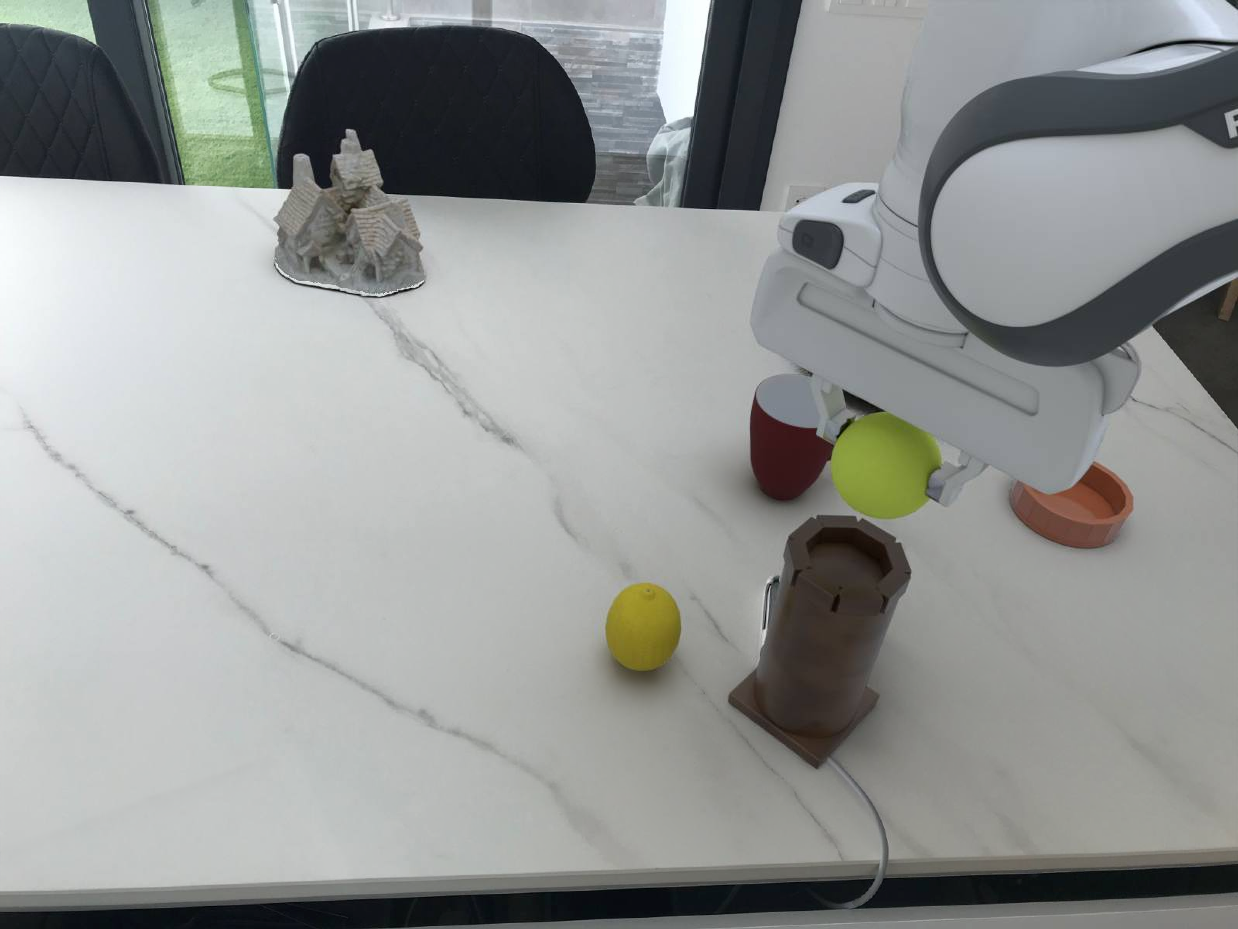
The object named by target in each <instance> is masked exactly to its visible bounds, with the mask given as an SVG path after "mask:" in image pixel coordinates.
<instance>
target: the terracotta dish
mask: <svg viewBox="0 0 1238 929" xmlns="http://www.w3.org/2000/svg"><path fill="white" fill-rule="evenodd" d="M1009 502H1010V505H1011V507H1012V510H1013V511H1014V513H1015V515H1016V516H1017V517H1018V519H1020V521H1021V522H1022V523H1023V524H1024V525H1026V527H1028V528H1029V529H1030V530H1032V531H1034V532H1035V533H1036V534H1038V535H1040V536H1041V537H1043V538H1045V539H1048V540H1050V541H1052V542H1055V543H1058V544H1060V545H1063V546H1068V547H1072V548H1079V549H1081V548H1082V549H1095V548H1101V547H1104V546H1107V545H1110V544H1111V543H1113V542H1114V541H1115V540H1116V539H1117V538H1118V537H1119V535H1120V534H1121V532H1122V530H1123V529H1124V527H1125V526H1126V523H1127V522H1128V521H1129V518H1130V517H1131V515H1132V513H1133V511H1134V496H1133V494H1132V492H1131V490H1130V488H1129V486H1128V485H1127V483H1126V482H1125V481H1124V480H1122V478H1121V477H1119V476H1118V475H1117V473H1115V472H1114V471H1112V470H1111V469H1109V468H1108V467H1106V466H1104V465H1102V464H1101V463H1099V462H1098V461H1095V460H1094V461H1093V463H1092V465H1091V466H1090V467H1089V469H1088V470H1087V471H1086V473H1085V474H1084V475H1083V476H1082V478H1081V479H1080V480H1079V481H1078V482H1077V483H1076V484H1075V485H1074V486H1073V487H1071V488H1070V489H1067V490H1064V491H1061V492H1058V493H1055V494H1044V493H1042V492H1040V491H1038V490H1036V489H1034V488H1032V487H1030V486H1028V485H1026V484H1024V483H1023V482H1021V481H1019V480H1017V479H1015V478H1014V480H1013V483H1012V486H1011V489H1010V492H1009Z"/></svg>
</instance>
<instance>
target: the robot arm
mask: <svg viewBox="0 0 1238 929" xmlns="http://www.w3.org/2000/svg"><path fill="white" fill-rule="evenodd" d="M917 33H918V34H917V35H916V36H917V37H916V39H915V42H914V46H913V50H912V54H911V57H910V62H909V65H908V68H907V72H906V77H905V80H904V84H903V88H902V93H901V96H900V104H899V105H900V130H899V138H898V142H897V145H896V148H895V150H894V153H893V155H892V157H891V158H890V160H889V162H888V163H887V165H886V167H885V169H884V170H883V172H882V174H881V177H880V180H879V182H857V181H856V182H854V181H853V182H846V183H842V184H839V185H837V186H834V187H831V188H829V189H826V190H824V191H821V192H819V193H817V194H815V195H813V196H811V197H809V198H807V199H805V200H803V201H801V202H800V203H798V204H796V205H795V206H793V207H791V208H790V209H788V210H787V211H785V212H784V213H783V214H782V215H781V217H780V219H779V222H778V226H777V234H776V235H777V242H778V244H779V246H780V247H778V248H776V249H774V250H773V251H772V252H771V253H770V254H769V255H768V257H767V259H766V261H765V263H764V264H763V267H762V270H761V273H760V276H759V279H758V283H757V285H756V290H755V294H754V298H753V302H752V307H751V312H750V319H749V325H750V328H751V331H752V333H753V336H754V338H755V341H756V343H757V344H758V345H759V347H762V348H764V349H766V350H768V351H769V352H772V354H773V353H774V354H775V355H777V356H779V357H781V358H783V359H785V360H786V361H789V362H791V363H793V364H795V365H797V366H798V367H800V368H802V369H804V370H806V371H808V372H810V373H812V375H811V377H812V379H811V383H810V386H811V389H812V393H813V396H814V399H815V402H816V405H817V408H818V411H819V414H821V416H820V420H819V424H818V428H817V433H816V435H817V436H819V437H821V438H823V439H824V440H826V441H828V442H830V443H832V444H833V445H835V444H836V442H837V440H838V438H839V437H840V435H841V434H842V433H843V431H844V430H845V429H846V428H847V427H848V426H850V425H851V424H852V423H853V422H855V421H856V418H857V413H856V412H854V411H852V410H851V409H849V408H848V407H847V408H845V407H846V405H845V401H846V399H845V396H844V391H845V390H846V391H845V392H847V391H848V392H847V393H849V392H850V393H849V394H851V393H852V394H851V395H853V394H854V395H853V396H855V395H856V396H855V397H857V396H858V397H857V398H859V397H860V399H861V400H863V401H866V402H868V403H869V404H871V405H873V406H875V407H877V408H879V409H881V410H883V411H884V412H888V413H890V414H892V415H894V416H896V417H898V418H900V419H902V420H904V421H906V422H908V423H910V424H911V425H913V426H915V427H917V428H919V429H921V430H923V431H925V432H927V433H929V434H931V435H932V436H933V437H934V438H936V439H939V440H941V441H942V442H944V443H945V444H948V445H949V446H952V447H953V448H955V449H957V450H959V451H960V452H959V455H958V458H957V462H958V464H959V465H960V466H956V465H954V464H952V463H950V462H948V461H944V462H942V465H941V466H940V468H939V469H938V470H935V471H934V472H933V473H932V474H931V476H930V478H929V481H928V486H929V487H928V488H926V489H925V495H926V496H927V497H929V498H930V500H932V501H934V502H936V503H937V504H939V505H940V506H943V507H945V508H949V507H950V506H951V505H952V504H953V503H954V502H955V501H956V500H957V499H958V497H959V496H960V494H961V493H962V490H963V489H964V485H965V484H966V483H967V482H969V481H971V480H973V479H974V478H976V477H978V476H980V475H982V473H983V472H985V470H986V469H988V467H989V466H990V467H992V468H994V469H996V470H998V471H1000V472H1002V473H1004V474H1005V475H1007V476H1009V477H1011V478H1013V479H1014V480H1015V479H1017V480H1019V481H1021V482H1023V483H1024V484H1026V485H1028V486H1030V487H1032V488H1034V489H1036V490H1038V491H1040V492H1042V493H1044V494H1055V493H1058V492H1061V491H1064V490H1067V489H1070V488H1071V487H1073V486H1074V485H1075V484H1076V483H1077V482H1078V481H1079V480H1080V479H1081V478H1082V476H1083V475H1084V474H1085V473H1086V471H1087V470H1088V469H1089V467H1090V466H1091V465H1092V463H1093V461H1095V459H1096V457H1097V455H1098V453H1099V450H1100V449H1101V445H1102V443H1103V441H1104V438H1105V435H1106V433H1107V429H1108V427H1109V423H1110V420H1111V416H1112V414H1113V413H1115V412H1118V411H1119V410H1120V409H1122V408H1123V407H1124V406H1126V404H1128V402H1129V400H1130V398H1131V396H1132V394H1133V392H1134V390H1135V388H1136V386H1137V384H1138V382H1139V380H1140V378H1141V374H1142V367H1143V366H1142V361H1141V357H1140V355H1139V352H1138V351H1137V349H1136V348H1135V347H1134V345H1133V344H1132V343H1131V342H1129V341H1131V340H1132V339H1134V338H1135V337H1137V336H1138V335H1140V334H1142V333H1143V332H1145V331H1147V330H1148V329H1150V327H1152V326H1153V325H1154V324H1155V323H1157V322H1158V321H1159V320H1161V319H1162V318H1164V317H1166V316H1168V315H1170V314H1172V313H1173V312H1176V311H1177V310H1179V309H1181V308H1183V307H1184V306H1186V305H1188V304H1190V303H1192V302H1194V301H1196V300H1197V299H1199V298H1201V297H1204V296H1205V295H1207V294H1209V293H1210V292H1212V291H1214V290H1216V289H1218V288H1220V287H1222V286H1223V285H1225V284H1228V283H1230V282H1233V281H1235V280H1236V279H1238V9H1237V8H1236V7H1235V6H1233V5H1232V4H1231V3H1229V2H1228V0H928V2H927V5H926V7H925V11H924V14H923V17H922V21H921V23H920V26H919V29H918V32H917ZM1120 348H1121V349H1120ZM842 388H843V389H842ZM844 399H845V400H844Z"/></svg>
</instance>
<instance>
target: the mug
mask: <svg viewBox="0 0 1238 929" xmlns="http://www.w3.org/2000/svg"><path fill="white" fill-rule="evenodd" d="M811 379H812V376H810V375H805V374H801V373H799V374H798V373H781V374H776V375H772V376H770V377H767V378H766V379H763V380H762V381H761V382H760V383H759V384H758V385H757V386H756V389H755V392H754V395H753V399H752V404H751V408H750V416H749V448H750V449H749V456H750V459H749V460H750V466H751V469H752V472H753V474H754V477H755V480H756V482H757V483H758V486H759V488H760V489H761V491H762V492H763V493H764V494H765V495H767V496H769V497H771V498H773V499H776V500H779V501H780V500H781V501H788V500H794V499H797V498H798V497H799V496H801V495H802V494H803V493H804V492H806V491H807V490H808V489H810V488H811V486H812V485H814V484H815V483H816V481H817V480H818V479H819V478H820V476H821V474H822V472H823V471H824V469H825V467H826V465H827V463H828V462H831V457H832V452H833V449H834V446H835V445H833V444H832V443H830V442H828V441H826V440H824V439H823V438H821V437H819V436H817V435H816V433H817V428H818V424H819V420H820V416H821V414H819V411H818V408H817V405H816V402H815V399H814V396H813V393H812V389H811V386H810V383H811ZM844 400H845V405H846V407H845V408H847V409H848V405H847V401H846V399H845V398H844Z"/></svg>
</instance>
